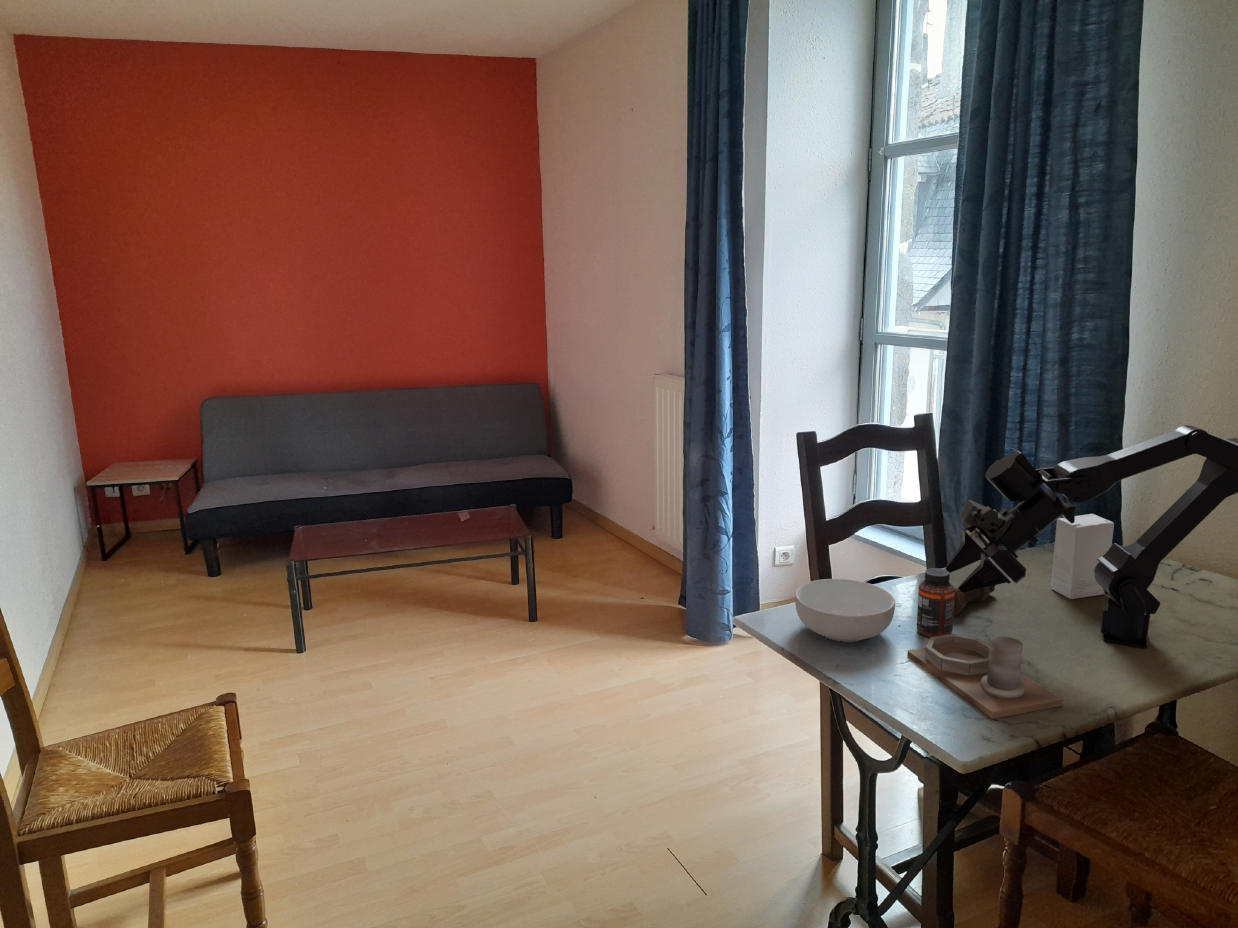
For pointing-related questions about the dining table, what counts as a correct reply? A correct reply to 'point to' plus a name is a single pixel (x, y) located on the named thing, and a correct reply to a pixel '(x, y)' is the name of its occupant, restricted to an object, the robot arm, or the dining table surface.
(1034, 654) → the dining table surface
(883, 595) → the cereal bowl
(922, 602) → the supplement bottle
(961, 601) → the bolt
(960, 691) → the pin board
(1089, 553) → the skincare box
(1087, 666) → the dining table surface
